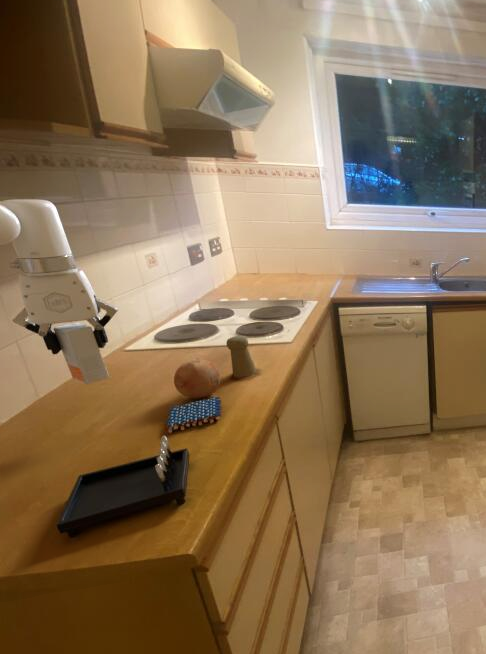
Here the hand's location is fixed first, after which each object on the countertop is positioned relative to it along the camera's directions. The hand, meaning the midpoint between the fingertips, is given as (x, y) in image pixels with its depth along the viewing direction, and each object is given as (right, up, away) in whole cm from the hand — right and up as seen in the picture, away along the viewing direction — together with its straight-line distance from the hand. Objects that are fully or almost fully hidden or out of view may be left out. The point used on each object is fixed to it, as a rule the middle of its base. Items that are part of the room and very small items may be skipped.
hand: (80, 348), depth 92 cm
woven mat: (+17, -16, +10) cm, 26 cm away
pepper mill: (+15, -7, +33) cm, 37 cm away
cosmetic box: (0, -7, +3) cm, 7 cm away
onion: (+12, -12, +20) cm, 26 cm away
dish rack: (+25, -27, -15) cm, 39 cm away
